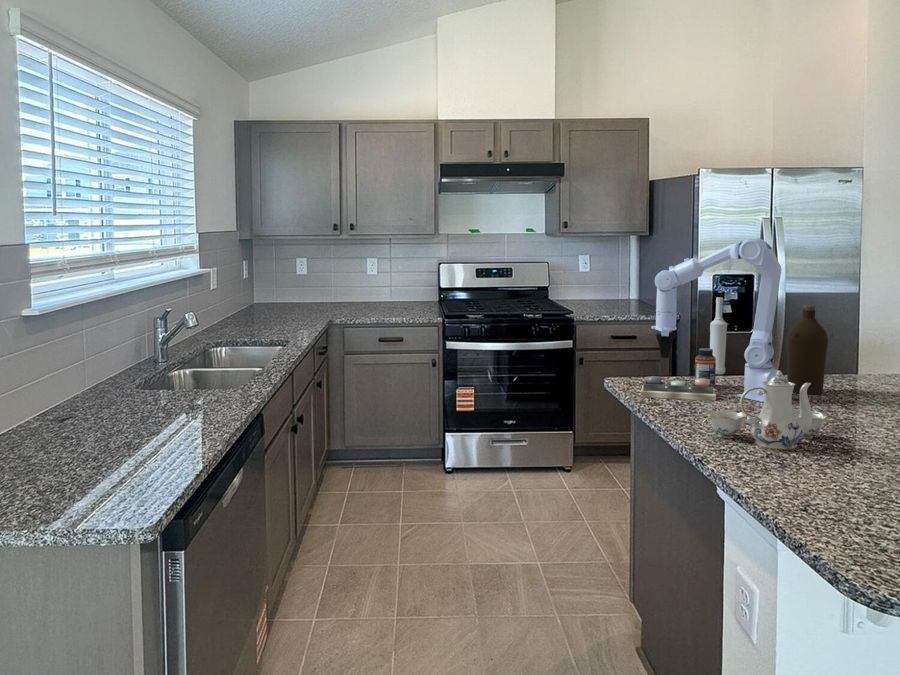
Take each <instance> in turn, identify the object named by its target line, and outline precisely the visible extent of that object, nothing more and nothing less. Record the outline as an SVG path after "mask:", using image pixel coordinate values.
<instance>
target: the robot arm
mask: <svg viewBox="0 0 900 675" xmlns="http://www.w3.org/2000/svg"><path fill="white" fill-rule="evenodd" d="M729 260H743V261H745V262H746V263H748V264H750V265H752V266H753V267H754V268H755V269H756V270H757V271H758V272H759V273H760V274H761V277H760V283H759V290H758V298H757V304H756V311H755V316H754V324H753V329H752V334H751V336H750V340H749V344H748V346H747V347H746V349H745V351H744V354H743V356H744V359H745V361H746V362H745V363H744V377H743V378H744V379H743V380H744V381H743V393H744V392H745V391H746V390H747V389H749V388H752V387H762V388H764V384H763V383H762V382H764V381H770V379H771V378H772V377H773V376H776V373H777V372H778V371H779V370H778V369H775V368H774V364H773V362H772V361H771V360H772V359H773V357H774V355H775V349H774V345H773V329H774V328H773V327H774V323H775V322H774V321H775V314H776V310H777V309H776V307H777V303H778V295H779V290H780V289H779V288H780V283H781V275H782V267H781V264H780V262H779V260H778V258H777V256H776V254H775V252H774V249H773V246H771V245H770V244H769V243H768V242H767V241H766V240H764V239H762V238H759V237H758V238H747V239H745V240H743V241H738V242H736V243H733V244H732V243H731V244H729V245H727V246H725V247H723V248H721V249H719V250H716V251H715V252H713V253H711V254H709V255H707V256H705V257H703V258H700V259H698V258H695V257H692V258H689V257H687V258H685V259H684V260H683V262H681V263H679V264H677V265H671V266H668V269H665V270H664V269H663V270H661V271H660V272H658V273H657V274H656V276H655V278H654V285H655V287H656V301H655V302H656V303H655V306H656V307H655V312H656V313H655V325H651V329H652V330H656V331H659V332H660V333H659V332H658V333H655V338H656V340H657V343H658V346H659V353H660V359H670V355H671V349H672V344H673V342H674V339H675V338H676V333H675V332H673V331H676V330H677V304H678V303H677V302H678V299H677V298H678V296H677V291H678V290H677V289H678V287H679V286H682V285H685V284H686V283H690V282H691V281H694V280H696V279H697V278H701V277H702V276H703V274H704V271H705V270H707V269H709V268H712V267H714V266H716V265H720V264H721V263H724V262H727V261H729ZM758 391H762V392H763V390H762V389H757V390H752V391H750V392H748V393H747V394H746V395H745V397H744V399H746V400H752V401H756V402H761V403H764V397H765V393H764V394H763V395H761V396H759V395H758V393H757V392H758ZM743 393H739V394H736V397H739V398H741V395H742V394H743Z"/></svg>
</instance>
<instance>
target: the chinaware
mask: <svg viewBox="0 0 900 675" xmlns="http://www.w3.org/2000/svg"><path fill="white" fill-rule="evenodd" d="M783 375H784V373H782V370H778V372H777V373H776V376H773V377H772V378H771V379H770V381H764V382H762V383H763V384H764V388H762V387H752V388H749V389H747V390H746V391H745V392H744V391H743V393H741V394H742V395H741V397H739V407H740V410H741V412H736V411H734V410H732V409H722V410H720V411H717V410H713V409H710V410H708V411H707V413H706V416H707V418H704V419H703V420H702V424H701V427H702V430H704V432H706V433H710V432H713V433H712V435H713V436H718V437H719V438H721V439H731V438H735V436H733V435H735V434H737V433H738V432H739V431H740V430H741V429H742V427H743V425H744V421H745V419H746V420H747V423H748V424H749V425H750V434H751V436H752V438H753V439H754V440H755V441H754V444H755V445H757V446H759V447H761V448H765V449H773V450H793V449H797V448H798V445H797V444H798V443H800V441H801V440H803V439H804V440H805V439H807V440H808V439H809V440H810V439H814V438H813V437H814V436H813V435H816V436H817V437H820V436H821V434H825V435H827V434H828V435H829V434H832V432H834V430H835V425H834V423H833V421H832V420H831V419H829V415H824V414H823V413H822V412H820V411H817V410H816V411H814V410H812V408H811V404H810V400H809V397H808V396H809V395H807V389H808V387H809V386H810V384H811V383H805V384H804V385H802V387H801V389H800V394H798V395H799V409H793V393H792V392H793V388H794V385H795V384H794V383H791V382H788V380H787V377H785V376H783ZM757 389H762V390H763V392H762V391H758V392H757V393H758V395H759V396H761V395H763V394H764V393H765V397H764V402H763V404H762V407H761V410H760V412H759V414H758V415H757V414H753V413H750V412H748V411H747V410H746V409H745V407H744V399H745V398H744V397H745V395H746V394H747V393H748V392H750V391H752V390H757ZM706 421H707V422H710V425H711V427H712V429H709V430H707V429H705V426H704V424H705V422H706ZM824 422H825V423H826V424H827V423H828V422H829V423H831V425H832V429H831V430H830V431H828V432H825V431H821V429H822V428H823V426H824V424H825V423H824ZM717 433H718V434H717ZM820 433H821V434H820Z"/></svg>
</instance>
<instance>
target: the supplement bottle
mask: <svg viewBox="0 0 900 675" xmlns="http://www.w3.org/2000/svg"><path fill="white" fill-rule="evenodd" d="M715 372H716V358H715V357H714V356H713V349H710V347H709V348H708V347H704V348H703V347H702V348H699V349H698V355H696V356H695V358H694V380H695V379H696V378H705V379H710V384H713V388H714V387H715V386H716V374H715Z"/></svg>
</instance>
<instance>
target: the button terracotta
mask: <svg viewBox="0 0 900 675" xmlns="http://www.w3.org/2000/svg"><path fill="white" fill-rule="evenodd" d="M694 383H695V386H701V387H710V379H705V378H696V379H695V378H694Z"/></svg>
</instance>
